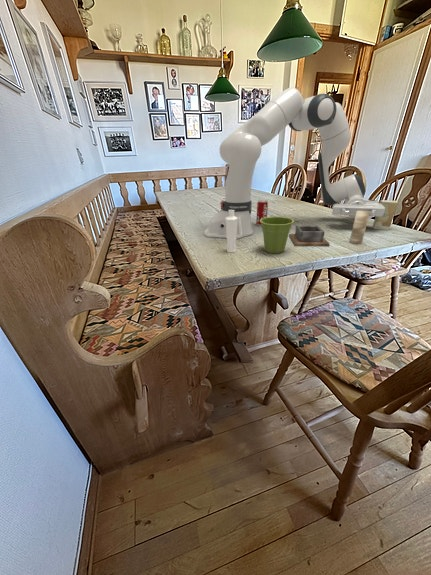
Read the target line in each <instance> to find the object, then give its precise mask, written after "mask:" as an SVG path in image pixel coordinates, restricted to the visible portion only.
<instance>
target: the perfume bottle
mask: <svg viewBox="0 0 431 575" xmlns="http://www.w3.org/2000/svg"><path fill="white" fill-rule="evenodd" d="M234 211H235V210H229V216H228V217H226V218H225V221H226V234H227V238H226V252H227V253H236V251H237V247H236V245H237V239H236V236H237V224H238V218H237V217H235V216H234Z"/></svg>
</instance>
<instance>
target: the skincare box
mask: <svg viewBox="0 0 431 575" xmlns="http://www.w3.org/2000/svg"><path fill="white" fill-rule="evenodd" d="M379 203H380V204H382V205H383V206H384V207H385V211H384V214H383V216H381V217H380V216H374V217H375V218H374V220H373V225H372V228H373V229H374V230H381V231H382V230H384V231H389V230H390V229H391V228H390V227H391V224H392V223H393V219H394V216H395V213H396V212H397V211H396V210H397V207H398V205H399V202H398V201H397V200H386V199H385V200H384V199H380V201H379Z"/></svg>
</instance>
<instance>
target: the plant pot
mask: <svg viewBox="0 0 431 575" xmlns="http://www.w3.org/2000/svg"><path fill="white" fill-rule="evenodd" d="M260 222H261V224H262V226H261V229H262V235H263V236H262V237H263V244H264V245H263V246H264V251H265V252H268V253H271V254H280V253H281V252H282V253H283V252H284V251H285V249H286V246H287V242H288V238H289V234H290V231H291V228H292V225H293V224H294V222H295V220H294V219H293V218H290V217H285V216H267V218H263V219H261V220H260Z"/></svg>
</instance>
